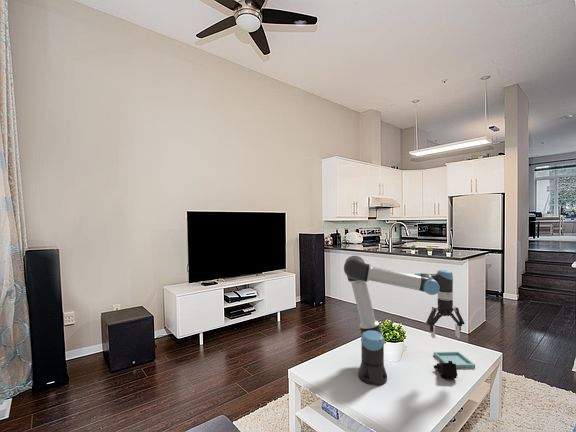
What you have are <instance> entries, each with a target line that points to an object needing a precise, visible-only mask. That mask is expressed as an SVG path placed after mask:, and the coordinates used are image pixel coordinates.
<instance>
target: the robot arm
mask: <svg viewBox="0 0 576 432" xmlns="http://www.w3.org/2000/svg"><path fill="white" fill-rule="evenodd" d="M343 272H344V274H345V275H346V277H347V281H348V282H350V283H351V287H352V293H353V296H354V299H355V304H356V309H357V312H358V316H359V319H360V324H359V325H358V326H359V332H360V335H361V338H360V342H361V343H360V344H361V346H360V347H361V351H360V352H361V362H360V365H359V368H358V371H357V372H358V373H357V374H358V375H357V376H358V379H359V380H360V381H362V382H363V383H365V384H368V385H371V386H382V385H384V384H386V383H387V381H388V373H387V371H386V367H385V363H384V362H385V358H384V357H385V353H384V351H385V347H384V345H385V339H384V336H383V332H382V329H381V326H380V322H379V321H378V320H376V317H375V313H374V308H373V305H372V299H371V297H370V292H369V288H368V283H369V281H371V282H376V283H381V284H384V285H388V286H389V285H390V286H394V287H395V286H396V287H400V288H405V289H409V290H415V291H420V292H423V293H424V292H425V293H426V294H428V295H430V296H434V295H437V307H434V306H432V307H431V312H430V313H429V315H428V318H427V320H426V325H427V326H429V331H430V335H431V338H432V339H436V326H435V325H436V324H437V322H438V321H439V320H440V318H442V317H449V316H450V318H451V319H452V320H453V321H454V323H456V324H454V326H455V327H454V330H455V333H454V334H455V335H454V336H455V337H457V338H458V339H460V336H461V335H460V334H461V333H460V332H461V331H462V326H463V325H465V320H464V319H463V317H462V314H461V313H460V310H459V307H457V306H454V292H453V291H454V290H453V289H454V287H453V286H454V277H453V272H452V271H451V270H448V269H447V270H446V269H439V270H437V272H436V273H422V272H420V273H417V272H416V273H414V274H411V273H406V272H402V271H401V272H400V271H395V270H391V269H390V270H389V269H387V268H379V267H376V266H372V265H371V264H370V263H366V262H365V259H363V258H362V257H361V256H358V255H350V256H349V257H348V258H347V259H345V262H344V265H343ZM367 282H368V283H367ZM453 312H454V313H453ZM454 314H455V315H456V316H455V315H454Z"/></svg>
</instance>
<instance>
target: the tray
mask: <svg viewBox="0 0 576 432" xmlns="http://www.w3.org/2000/svg"><path fill="white" fill-rule="evenodd" d="M433 356H434V357H435V359H437V361H439V362H440V364H441V363H448V361H452V363H454V364H456V369H476V364H475V363H474V362H473V361H472V360H470V359H469V358H468V357H466V356H465V355H464V354H463V353H461V352H460V351H433Z"/></svg>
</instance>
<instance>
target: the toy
mask: <svg viewBox="0 0 576 432" xmlns="http://www.w3.org/2000/svg"><path fill="white" fill-rule="evenodd" d="M433 369H436V370H437V371H438V372H439V375H440V377H441V378H449V379H457V377H458V370H457V369H458V368H456V364H454V363H452V361H448V363H441V362H440V363H438V362H437V363H436V364H434V365H433Z"/></svg>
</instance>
